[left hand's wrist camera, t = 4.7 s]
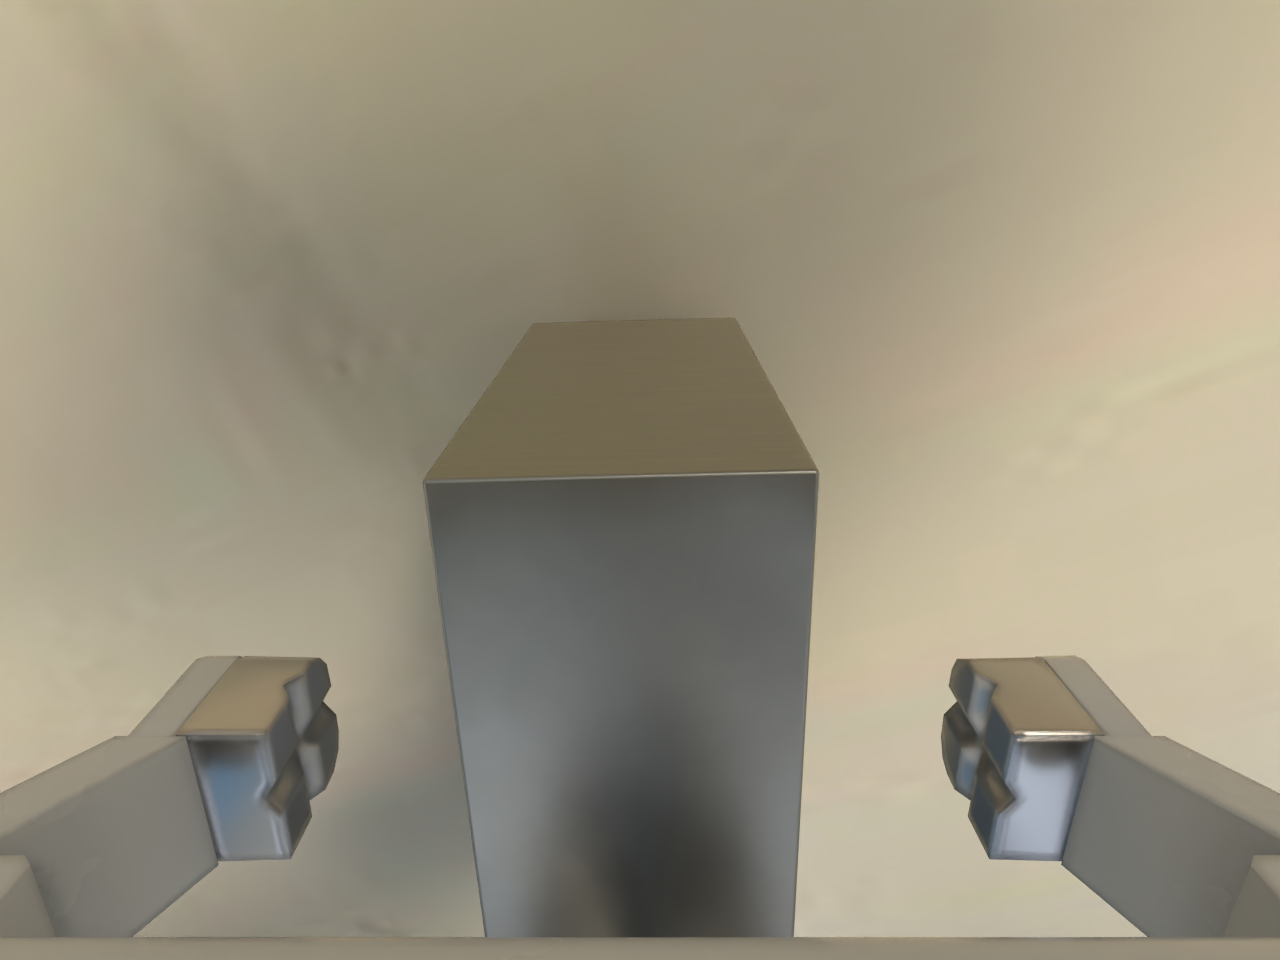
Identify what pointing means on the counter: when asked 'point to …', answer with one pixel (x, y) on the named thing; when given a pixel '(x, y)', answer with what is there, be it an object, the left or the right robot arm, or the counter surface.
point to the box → (629, 632)
